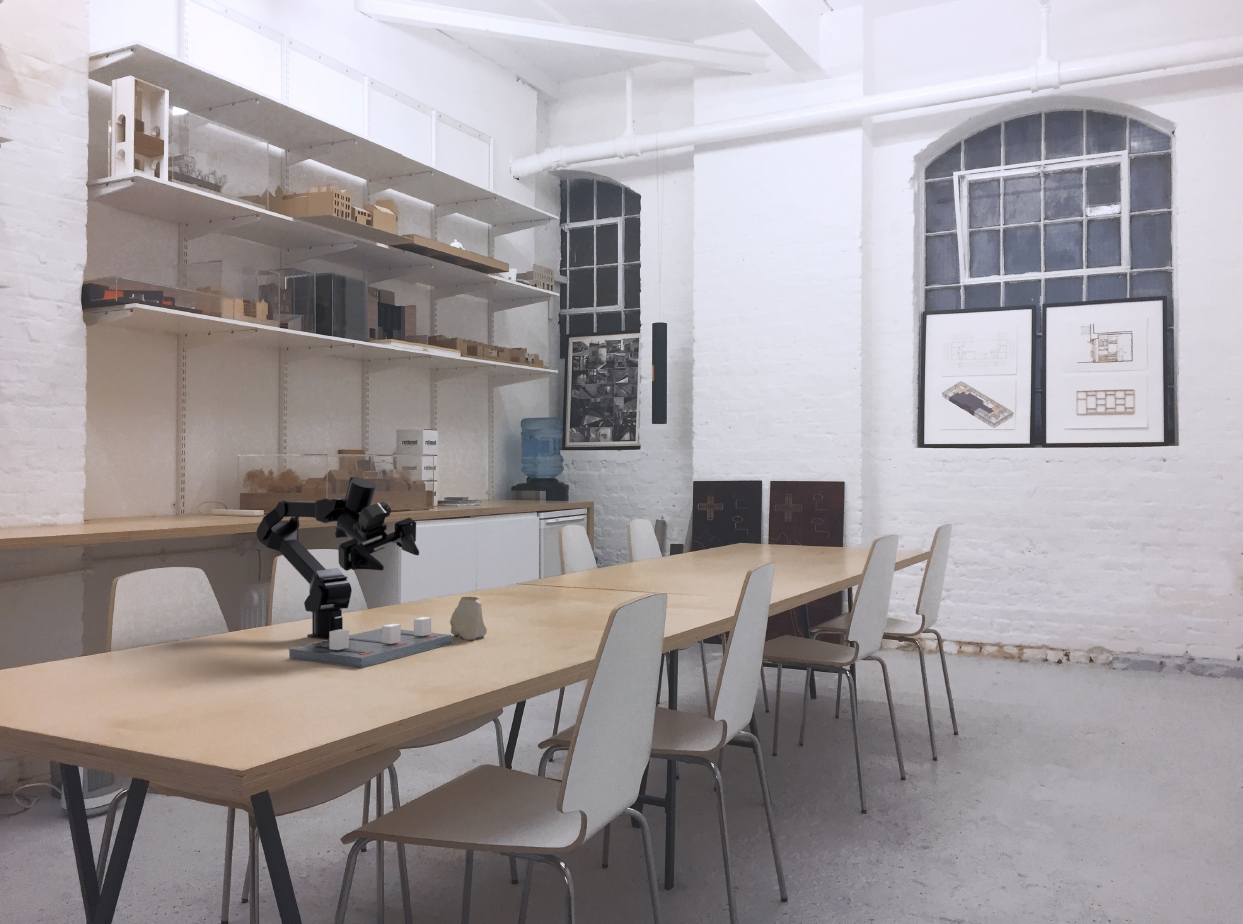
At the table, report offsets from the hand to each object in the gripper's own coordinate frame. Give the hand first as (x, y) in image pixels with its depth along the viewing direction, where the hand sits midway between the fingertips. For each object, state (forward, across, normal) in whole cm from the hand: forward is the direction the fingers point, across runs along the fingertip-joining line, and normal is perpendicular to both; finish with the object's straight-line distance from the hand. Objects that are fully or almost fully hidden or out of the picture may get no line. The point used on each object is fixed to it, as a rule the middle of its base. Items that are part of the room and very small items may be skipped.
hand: (401, 560), depth 201 cm
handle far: (+7, +1, +17) cm, 18 cm away
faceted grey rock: (+9, +12, +22) cm, 27 cm away
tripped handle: (+5, -19, +11) cm, 22 cm away
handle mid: (+8, -8, +13) cm, 17 cm away
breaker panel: (+5, -10, +17) cm, 20 cm away
